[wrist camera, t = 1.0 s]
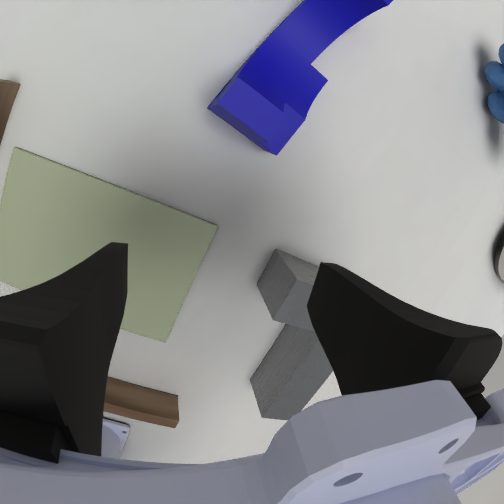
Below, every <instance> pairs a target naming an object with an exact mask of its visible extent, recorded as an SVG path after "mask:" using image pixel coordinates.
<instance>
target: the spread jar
mask: <svg viewBox="0 0 504 504" xmlns="http://www.w3.org/2000/svg"><path fill="white" fill-rule="evenodd" d="M495 270H496V272H497V274H498V276H499V277H500V279H501V280H502V281H503V282H504V233H503V235H502V236H501V239H500V241H499V243H498V246H497V250H496V254H495Z"/></svg>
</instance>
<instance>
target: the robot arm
mask: <svg viewBox="0 0 504 504" xmlns="http://www.w3.org/2000/svg"><path fill="white" fill-rule="evenodd" d="M127 293H128V243H118V242H111V243H109V244H107V245H106V246H104V247H103V248H101V249H100V250H98V251H97V252H95V253H94V254H92V255H91V256H90V257H88V258H87V259H85V260H84V261H82V262H80V263H79V264H77V265H75V266H74V267H72V268H71V269H69V270H67V271H66V272H64V273H62V274H60V275H58V276H56V277H54V278H52V279H50V280H48V281H46V282H44V283H41V284H39V285H36V286H33V287H31V288H28V289H25V290H22V291H20V292H17V293H13V294H10V295H6V296H2V297H0V504H461V502H460V500H459V498H458V497H457V495H456V494H458V493H460V492H461V491H463V490H464V489H466V488H468V487H469V486H471V485H472V484H474V483H475V482H477V481H478V480H480V479H481V478H483V477H484V476H486V475H487V474H489V473H490V472H492V471H493V470H495V469H496V468H497V467H498V466H499V465H500V464H502V463H503V462H504V389H501V390H499V391H496V392H494V393H492V394H490V395H489V396H487V397H486V398H484V397H483V395H482V394H481V393H482V392H483V391H484V390H485V387H484V386H483V385H482V383H481V381H482V380H483V378H484V377H485V375H486V374H487V373H488V371H489V370H490V368H491V367H492V366H493V364H494V363H495V361H496V359H497V357H498V356H499V353H500V351H501V347H502V338H501V337H500V336H499V335H498V334H497V333H496V332H495V331H494V330H492V329H489V328H483V327H478V326H472V325H467V324H463V323H459V322H456V321H452V320H448V319H445V318H442V317H439V316H436V315H434V314H431V313H428V312H426V311H423V310H421V309H418V308H416V307H414V306H412V305H410V304H408V303H405V302H403V301H401V300H399V299H397V298H396V297H394V296H392V295H390V294H388V293H387V292H385V291H383V290H381V289H380V288H378V287H376V286H374V285H373V284H371V283H369V282H368V281H366V280H365V279H363V278H361V277H359V276H358V275H356V274H354V273H353V272H351V271H349V270H347V269H345V268H344V267H341V266H339V265H337V264H333V263H323V262H321V263H320V266H319V269H318V273H317V276H316V279H315V282H314V285H313V288H312V291H311V294H310V297H309V300H308V303H307V309H308V313H309V317H310V320H311V323H312V326H313V328H314V331H315V333H316V335H317V337H318V339H319V341H320V344H321V346H322V348H323V350H324V352H325V354H326V356H327V358H328V360H329V362H330V364H331V366H332V369H333V371H334V373H335V376H336V378H337V381H338V385H339V388H340V391H341V394H342V396H339V397H335V398H332V399H328V400H324V401H320V402H317V403H315V404H313V405H311V406H310V407H308V408H306V409H304V410H302V411H300V412H298V413H296V414H295V415H293V416H292V417H291V418H290V419H289V420H288V421H287V422H286V423H285V424H284V425H283V426H282V427H281V428H280V430H279V431H278V432H277V433H276V434H275V435H274V437H273V439H272V441H271V443H270V445H269V447H268V449H267V451H266V452H265V453H263V454H258V455H253V456H248V457H243V458H238V459H232V460H227V461H221V462H214V463H208V464H172V463H155V462H142V461H132V460H123V459H120V455H121V452H122V449H123V447H124V444H125V442H126V439H127V437H128V434H129V432H130V426H128V425H126V424H122V423H119V422H115V421H111V420H108V419H104V418H103V411H104V400H105V391H106V383H107V376H108V370H109V365H110V361H111V357H112V354H113V350H114V347H115V343H116V340H117V336H118V333H119V330H120V326H121V323H122V319H123V316H124V311H125V305H126V299H127Z"/></svg>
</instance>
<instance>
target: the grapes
mask: <svg viewBox="0 0 504 504" xmlns="http://www.w3.org/2000/svg"><path fill="white" fill-rule="evenodd" d="M499 58H500V61H501V63H502V64H501V63H499V62H497V61H490V62H489V63H488V64H487V65H486V67H485V75H486V78H487V81H488V83H489V84H490V85H491V86H492V87H493V88H494V89H495V90H497V91H493V92H492V93H491V94H490V95H489V96H488V100H487V104H488V107H489V110H490V112H491V114H492V115H493V116H494V117H495V118H496V119H497V120H498V121H500V122H502V123H504V44H503V45H502V46H501V47H500V48H499Z"/></svg>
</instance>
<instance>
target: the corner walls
mask: <svg viewBox="0 0 504 504" xmlns="http://www.w3.org/2000/svg"><path fill="white" fill-rule="evenodd" d="M19 86H20V84H18V83H15V82H12V81H8V80H1V79H0V143H1V140H2V136H3V133H4V130H5V126H6V123H7V120H8V117H9V114H10V111H11V108H12V105H13V102H14V99H15V97H16V94H17V91H18V89H19ZM104 411H106V412H109V413H113V414H116V415H120V416H124V417H128V418H132V419H136V420H140V421H144V422H148V423H153V424H157V425H162V426H167V427H172V428H175V427H176V426H177V424H178V422H179V410H178V395H173V394H169V393H165V392H161V391H157V390H153V389H149V388H145V387H142V386H138V385H134V384H131V383H127V382H124V381H120V380H117V379H114V378H111V377H107V383H106V391H105V400H104Z"/></svg>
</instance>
